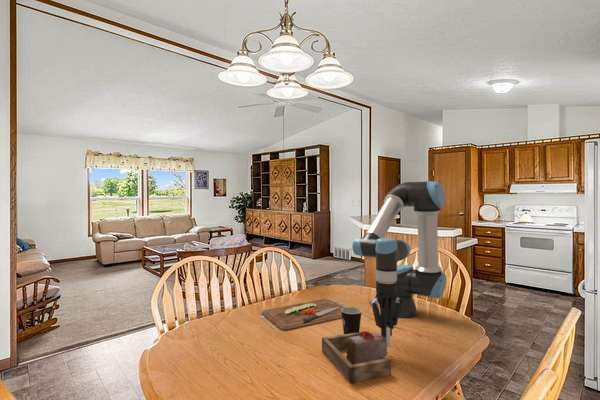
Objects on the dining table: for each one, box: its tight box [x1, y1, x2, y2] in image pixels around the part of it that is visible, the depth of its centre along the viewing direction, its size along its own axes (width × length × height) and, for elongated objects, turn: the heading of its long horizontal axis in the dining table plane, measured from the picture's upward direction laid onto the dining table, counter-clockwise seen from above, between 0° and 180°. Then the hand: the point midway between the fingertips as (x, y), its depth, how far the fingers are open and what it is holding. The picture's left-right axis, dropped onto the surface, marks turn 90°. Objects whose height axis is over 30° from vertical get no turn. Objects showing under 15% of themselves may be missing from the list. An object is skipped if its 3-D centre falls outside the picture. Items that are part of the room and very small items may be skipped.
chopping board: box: [259, 298, 348, 332], centre depth 167 cm, size 45×27×3 cm, turn 118°
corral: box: [321, 332, 392, 384], centre depth 120 cm, size 15×23×5 cm, turn 19°
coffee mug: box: [341, 306, 363, 335], centre depth 145 cm, size 12×9×10 cm
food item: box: [345, 330, 388, 365], centre depth 121 cm, size 14×8×10 cm, turn 116°
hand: (386, 345), depth 124 cm, fingers closed
